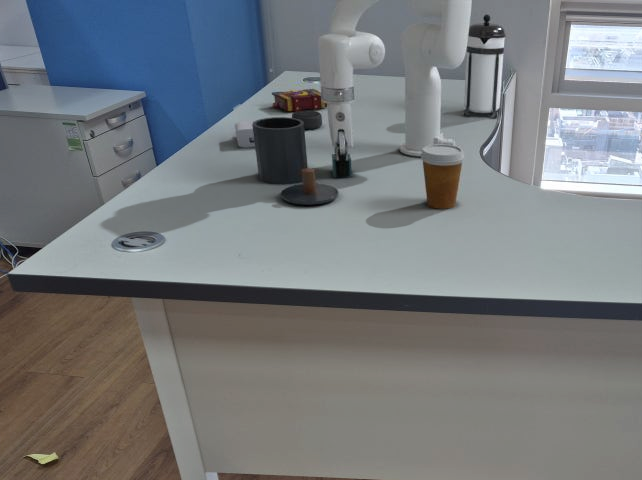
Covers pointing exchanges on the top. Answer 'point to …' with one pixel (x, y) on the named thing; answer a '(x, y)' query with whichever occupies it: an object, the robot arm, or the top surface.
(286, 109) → the decorative book
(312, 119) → the smart speaker
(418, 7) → the robot arm
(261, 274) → the top surface
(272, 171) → the container
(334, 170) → the block
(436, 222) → the top surface
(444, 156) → the disposable coffee cup
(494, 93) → the coffee press
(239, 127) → the charger
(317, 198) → the lid
